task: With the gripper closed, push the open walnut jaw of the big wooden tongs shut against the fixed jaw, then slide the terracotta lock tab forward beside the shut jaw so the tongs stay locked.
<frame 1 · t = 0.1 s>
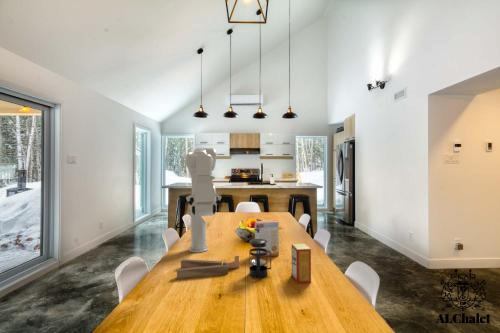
hand: (204, 213, 128), 31 cm above the table, fingers open, 9 cm apart
tongs jaw: (201, 264, 139), point 2 cm above the table, hinge at 24.0°
tongs fixed jaw: (225, 271, 135), on the table
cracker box: (266, 255, 160), on the table
french press: (259, 275, 131), on the table
lock tab: (232, 261, 140), point 3 cm above the table, slide at 0.0 cm
baking soda box: (301, 279, 126), on the table
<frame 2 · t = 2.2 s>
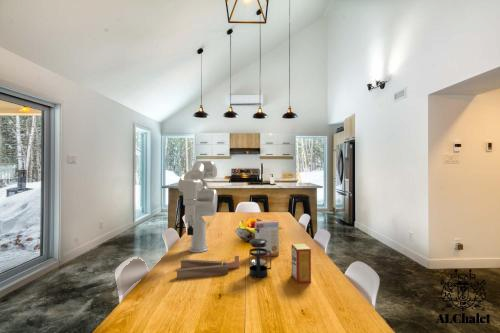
hand: (190, 234, 146), 16 cm above the table, fingers closed
nothing on the table moved.
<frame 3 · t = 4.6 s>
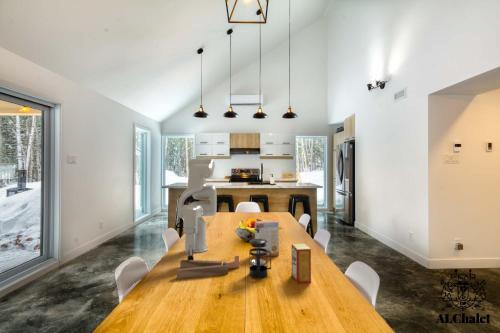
hand: (190, 263, 143), 1 cm above the table, fingers closed
tongs jaw: (201, 265, 138), point 2 cm above the table, hinge at 22.8°, touching gripper
everything else where it was.
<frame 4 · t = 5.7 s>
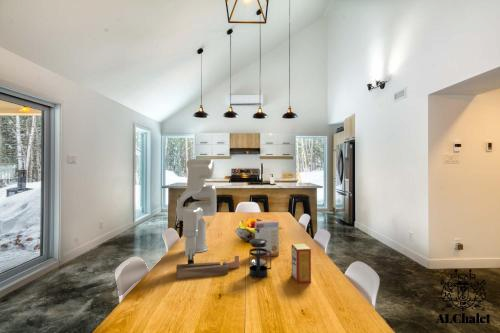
hand: (190, 267, 137), 1 cm above the table, fingers closed
tongs jaw: (198, 267, 134), point 2 cm above the table, hinge at 5.8°, touching gripper
everything else where it was.
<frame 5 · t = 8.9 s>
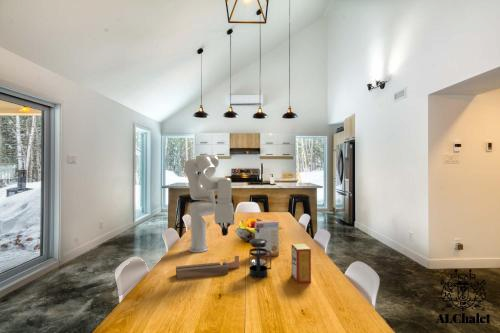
hand: (224, 235, 140), 18 cm above the table, fingers closed
tongs jaw: (198, 269, 133), point 2 cm above the table, hinge at -0.2°
everything else where it was.
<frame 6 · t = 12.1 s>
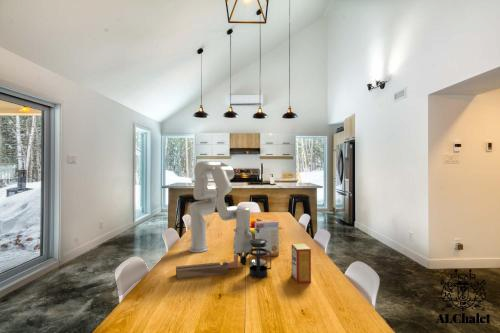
hand: (243, 264, 142), 1 cm above the table, fingers closed
lock tab: (231, 261, 140), point 3 cm above the table, slide at 0.4 cm, touching gripper
everything else where it was.
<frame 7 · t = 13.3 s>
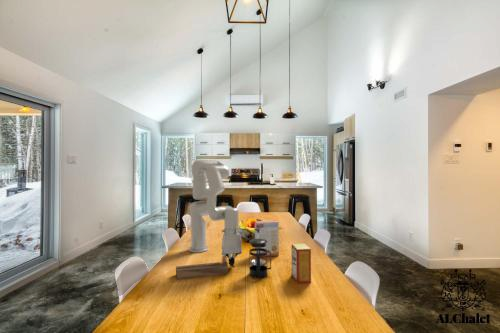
hand: (231, 265, 140), 1 cm above the table, fingers closed
lock tab: (219, 262, 138), point 3 cm above the table, slide at 6.8 cm, touching gripper
everything else where it was.
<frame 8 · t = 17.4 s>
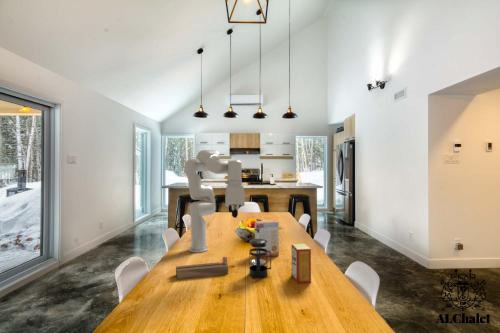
hand: (234, 217, 141), 27 cm above the table, fingers closed
lock tab: (220, 262, 138), point 3 cm above the table, slide at 6.5 cm
everything else where it was.
at the end: tongs jaw at +0° (first picture: +24°); lock tab slide at 6.5 cm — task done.
